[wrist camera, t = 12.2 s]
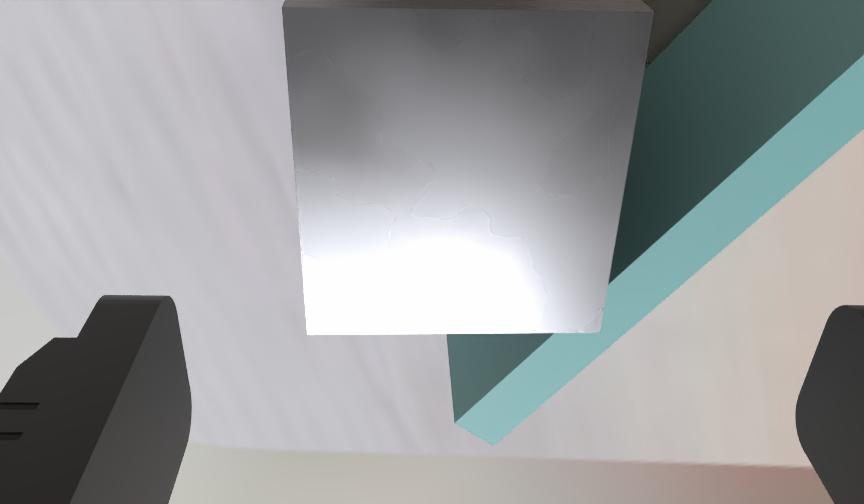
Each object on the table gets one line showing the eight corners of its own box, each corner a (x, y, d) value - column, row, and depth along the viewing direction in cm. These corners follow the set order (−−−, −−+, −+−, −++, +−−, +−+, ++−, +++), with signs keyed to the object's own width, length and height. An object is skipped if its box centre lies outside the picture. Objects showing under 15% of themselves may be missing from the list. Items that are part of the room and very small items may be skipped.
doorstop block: (558, -78, 18) (654, 11, 12) (535, 154, 22) (599, 332, 15) (324, -83, 18) (282, 6, 11) (335, 154, 21) (307, 334, 15)
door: (1006, -300, 16) (1291, -331, 11) (1035, -255, 16) (1322, -265, 11) (441, 276, 23) (454, 422, 18) (472, 297, 23) (493, 446, 18)
